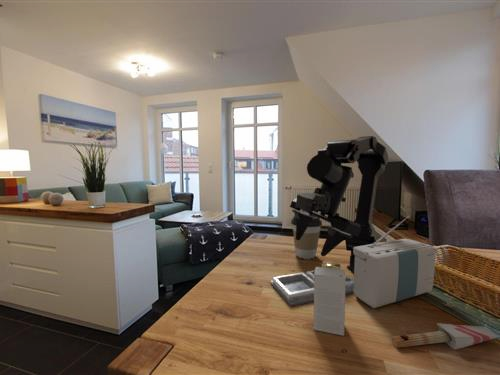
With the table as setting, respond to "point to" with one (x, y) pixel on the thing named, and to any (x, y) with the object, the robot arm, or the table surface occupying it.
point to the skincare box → (329, 300)
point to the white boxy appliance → (393, 270)
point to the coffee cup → (307, 238)
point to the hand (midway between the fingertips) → (309, 247)
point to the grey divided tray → (304, 285)
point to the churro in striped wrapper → (447, 336)
